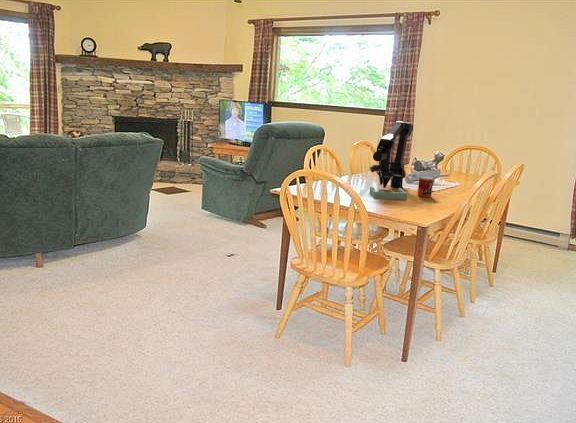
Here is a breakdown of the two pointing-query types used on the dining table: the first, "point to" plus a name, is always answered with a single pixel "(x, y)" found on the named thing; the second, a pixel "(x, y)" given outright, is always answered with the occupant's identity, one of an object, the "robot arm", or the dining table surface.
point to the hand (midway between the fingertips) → (382, 186)
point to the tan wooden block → (385, 190)
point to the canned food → (425, 186)
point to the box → (389, 194)
